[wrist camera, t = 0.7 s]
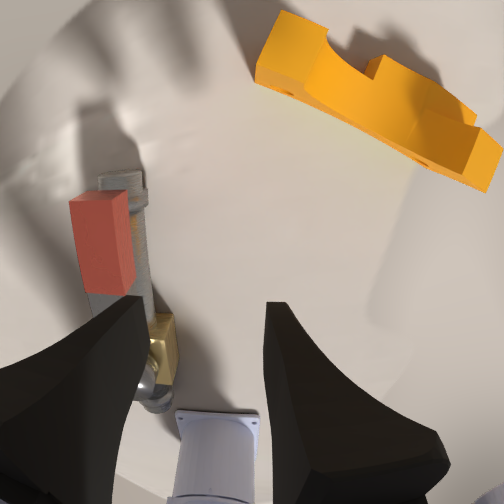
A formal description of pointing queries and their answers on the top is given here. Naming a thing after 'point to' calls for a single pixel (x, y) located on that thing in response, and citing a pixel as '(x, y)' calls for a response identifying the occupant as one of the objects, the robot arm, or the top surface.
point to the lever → (108, 258)
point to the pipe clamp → (379, 101)
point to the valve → (147, 289)
